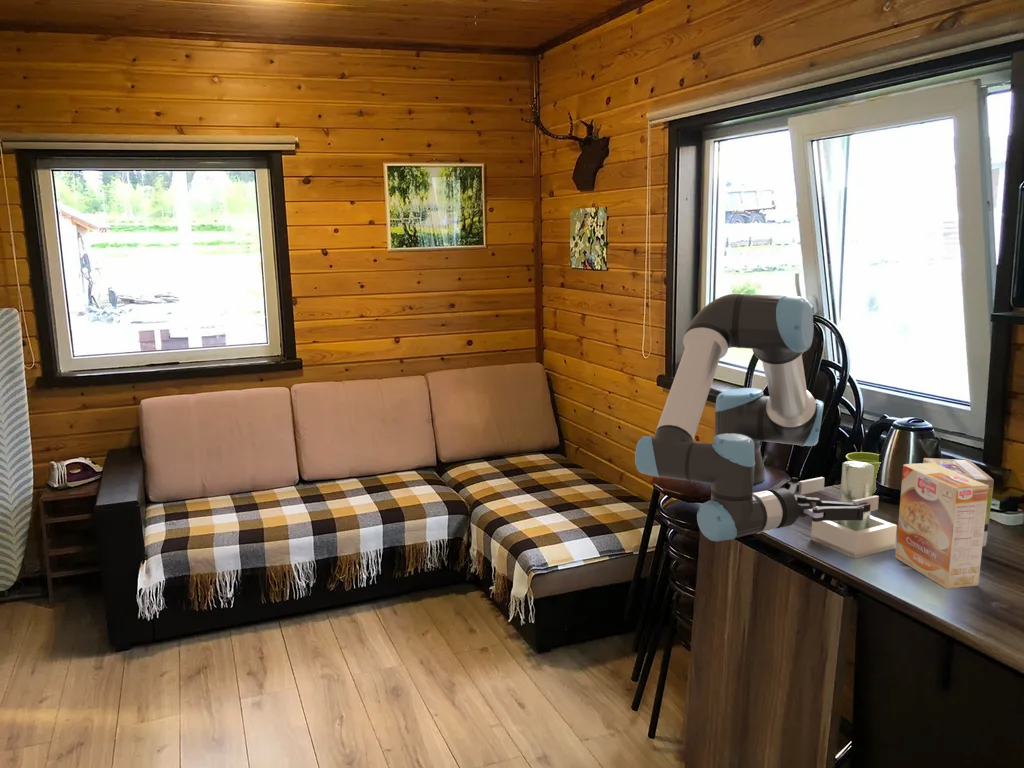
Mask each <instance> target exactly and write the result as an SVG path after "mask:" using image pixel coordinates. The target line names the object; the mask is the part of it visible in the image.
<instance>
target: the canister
mask: <svg viewBox="0 0 1024 768" xmlns="http://www.w3.org/2000/svg"><path fill="white" fill-rule="evenodd" d="M841 466H842V467H841V480H840V481H841V482H840V491H839V493H840V494H839V502H850V503H852V500H857V499H861V498H866V497H870V496H873V494H872V489H873V477H874V466H873V465H872V464H869V463H865V462H859V461H848V460H847V461H844V462H842V465H841ZM871 512H872V511H869V512H865V513H863V520H856V521H855V520H838V524H839V525H842V526H844V527H846V528H849V529H851V530H854V531H860V530H864V529H868V528H869V524H870V515H871Z"/></svg>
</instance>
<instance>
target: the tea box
mask: <svg viewBox="0 0 1024 768" xmlns="http://www.w3.org/2000/svg"><path fill="white" fill-rule="evenodd" d="M922 463H935V464H938V465H940V466H942V467H945V468H947V469H950V470H952V471H954V472H957V473H959V474H962V475H964V476H966V477H969V478H971V479H973V480H976V481H978V482H981V483H983V484H986V485H989V488H988V498H987V508H986V517H985V526H984V536H983V545H982V548H984V547H986V545H987V541H988V535H989V534H988V533H989V532H988V531H989V524H990V515H991V508H992V498H993V493H994V482H995V481H994V480H995V479H994V478H992V477H991V476H990V475H989V474H988V473H986V472H985V471H983V469H981V468H980V467H979V466H978V465H976V464H975V463H974V462H972V461H971V460H969V459H968V460H966V459H953V458H952V459H949V458H930V457H924V458H923V461H922Z"/></svg>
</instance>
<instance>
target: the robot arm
mask: <svg viewBox="0 0 1024 768" xmlns="http://www.w3.org/2000/svg"><path fill="white" fill-rule="evenodd" d="M814 327H815V326H814V313H813V309H812V306H811V304H810V302H809V301H808V299H807V298H805V297H803V296H797V295H791V294H745V293H744V294H743V293H742V294H741V293H730V294H725V295H722V296H720V297H718V298H716V299H714V300H713V301H711V302H709V303H708V304H706V305H705V306H704V307H703V308H701V309H700V310H699V312H698V313H697V314H696V315H695V316H694V317H693V319H692V320H691V322H690V323H689V325H687V329H686V331H685V332H684V336H683V340H682V343H683V347H684V350H683V353H682V356H681V359H680V362H679V365H678V368H677V370H676V374H675V375H674V377H673V382H672V384H671V387H670V389H669V393H668V395H667V398H666V401H665V404H664V407H663V410H662V412H661V415H660V417H659V418H660V419H659V420H658V425H657V426H656V429H655V433H654V435H649V436H647V435H644V436H641V438H640V439H638V441H637V444H636V445H635V451H634V452H635V453H634V462H635V463H634V464H635V466H636V470H637V471H638V472H639V473H641V474H643V475H647V476H651V477H654V478H666V479H673V480H681V481H688V482H693V483H695V482H696V483H701V484H708V485H711V487H710V488H711V491H710V492H711V496H710V500H708V501H705V502H703V503H702V504H701V505H700V506H699V509H698V510H697V513H696V520H697V521H696V522H697V525H698V527H699V530H700V532H701V534H702V535H703V536H704V537H705V538H706V539H707V540H710V541H712V542H722V541H730V540H735V539H737V538H741V537H745V536H748V535H752V534H756V535H757V534H758V535H759V534H761V533H762V532H766V531H771V530H775V529H781V528H785V527H788V526H789V527H791V526H792V525H794V523H796V521H797V520H798V519H799V518H805V517H811V522H812V521H814V522H819V521H835V520H855V521H856V520H863V513H865V512H869V511H871V512H873V511H877V510H879V500H880V496H879V495H875V494H874V495H872V496H870V497H866V498H861V499H857V500H852V503H850V502H840V501H832V500H822V499H820V498H819V497H808V496H805V495H807V494H811V493H816V492H817V493H818V492H820V491H825V477H823V476H820V477H815V478H814V477H813V478H809V479H805V480H800V481H799V480H798V479H799V478H797V477H792V478H791V482H790V479H787V478H784V479H782V480H780V481H779V482H777V484H775V485H773V486H772V487H771V488H767V489H765V490H759V491H755V492H754V485H757V484H759V483H762V482H764V481H765V480H766V475H767V474H766V473H767V472H766V467H765V464H764V460H763V455H762V453H761V442H769V443H776V444H778V443H779V444H787V445H795V446H796V445H797V446H800V447H805V446H807V447H813V446H816V445H817V444H818V443H819V438H820V431H821V425H822V420H823V419H822V418H823V412H824V405H825V403H824V401H822V400H819V399H815V397H814V396H813V395H812V393H811V392H810V391H809V390H808V389H807V383H806V381H807V380H806V376H805V368H804V362H803V354H804V352H807V351H809V350H810V348H811V346H812V345H813V344H812V343H813V339H814V332H815V331H814V330H815V329H814ZM731 348H739V349H751V350H752V352H753V354H754V356H755V357H756V358H757V359H758V360H759V361H761V362H762V367H763V371H764V375H765V380H766V385H767V389H768V394H769V396H768V395H764V392H763V389H761V388H756V387H742V388H741V387H740V388H734V389H728V390H727V389H726V390H725V391H722V392H720V393H718V395H717V396H716V398H715V399H716V400H715V407H714V434H713V435H714V436H713V441H712V443H709V442H708V443H707V442H702V441H701V442H699V441H694V440H695V437H696V433H697V431H698V427H699V426H700V421H701V418H702V414H703V412H704V410H705V406H706V403H707V400H708V396H709V393H710V391H711V387H712V383H713V381H714V377H715V375H716V372H717V368H718V365H719V362H720V360H721V359H722V358H724V357H725V356H726V355H727V353H728V351H729V349H731ZM814 503H815V507H814Z"/></svg>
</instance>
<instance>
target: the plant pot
mask: <svg viewBox="0 0 1024 768" xmlns="http://www.w3.org/2000/svg"><path fill="white" fill-rule="evenodd" d="M879 455H880V454H878V453H873V452H864V451H860V452H857V451H855V452H850V453H847V454H846V455H845V459H847V461H859V462H865V463H869V464H872V465H873V466H874V477H873V489H872V495H875V494H876V493H875V491H876V478H877V473H878V470H879V467H880V464H881V462H879ZM874 493H875V494H874Z"/></svg>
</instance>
